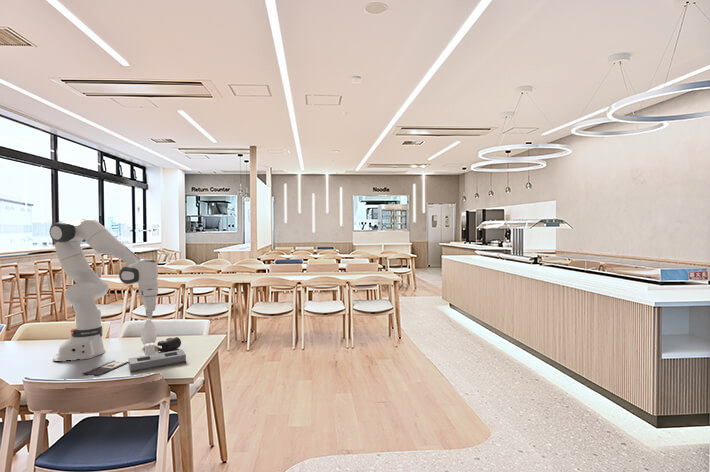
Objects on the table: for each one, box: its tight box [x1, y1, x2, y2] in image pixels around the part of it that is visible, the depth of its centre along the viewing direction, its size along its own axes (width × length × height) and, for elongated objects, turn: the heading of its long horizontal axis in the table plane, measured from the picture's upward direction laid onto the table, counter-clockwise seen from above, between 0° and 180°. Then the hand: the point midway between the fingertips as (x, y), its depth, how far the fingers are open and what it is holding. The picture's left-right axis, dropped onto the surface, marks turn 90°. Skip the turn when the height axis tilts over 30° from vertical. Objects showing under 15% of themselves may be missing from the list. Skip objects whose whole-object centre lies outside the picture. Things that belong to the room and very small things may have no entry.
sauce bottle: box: [140, 318, 158, 346], centre depth 223 cm, size 8×8×18 cm
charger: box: [144, 343, 156, 356], centre depth 203 cm, size 4×4×7 cm
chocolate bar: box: [82, 360, 129, 377], centre depth 188 cm, size 9×1×18 cm
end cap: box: [157, 336, 182, 354], centre depth 213 cm, size 10×7×7 cm
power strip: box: [128, 349, 187, 374], centre depth 193 cm, size 24×10×4 cm, turn 124°
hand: (149, 316), depth 203 cm, fingers open, 8 cm apart
